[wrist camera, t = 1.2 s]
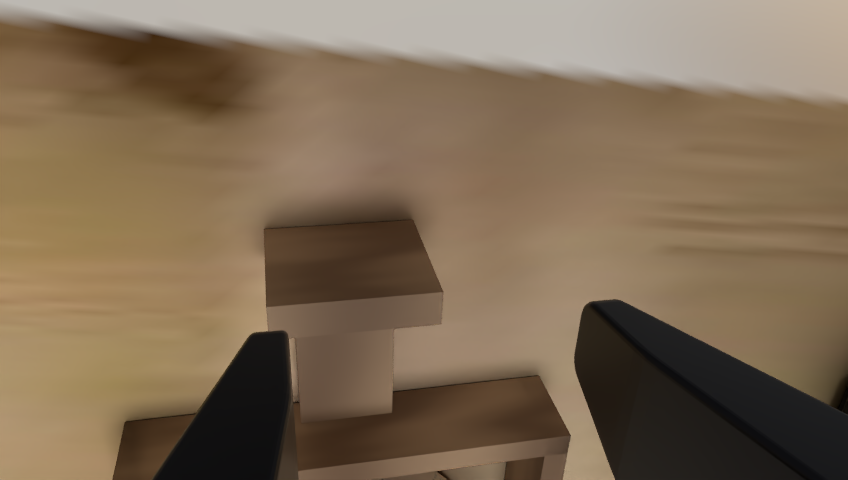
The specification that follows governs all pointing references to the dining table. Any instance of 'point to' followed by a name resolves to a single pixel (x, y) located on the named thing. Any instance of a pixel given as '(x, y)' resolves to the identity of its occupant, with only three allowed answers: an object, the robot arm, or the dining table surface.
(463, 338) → the dining table surface
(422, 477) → the teacup with lid
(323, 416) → the tray
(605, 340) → the robot arm
